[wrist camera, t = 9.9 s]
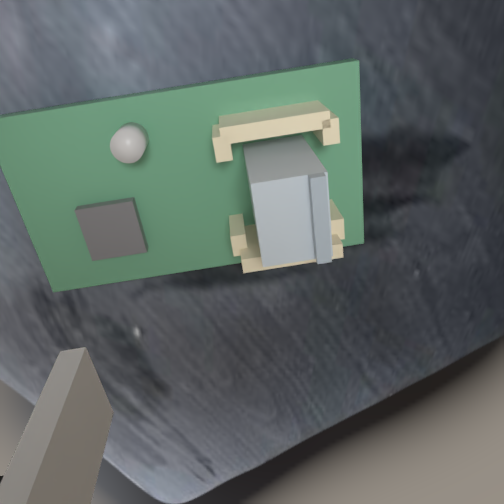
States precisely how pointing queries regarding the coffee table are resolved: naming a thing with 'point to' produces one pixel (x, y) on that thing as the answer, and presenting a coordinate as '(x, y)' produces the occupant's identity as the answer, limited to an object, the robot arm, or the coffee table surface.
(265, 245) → the plug
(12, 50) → the coffee table surface
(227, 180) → the board
